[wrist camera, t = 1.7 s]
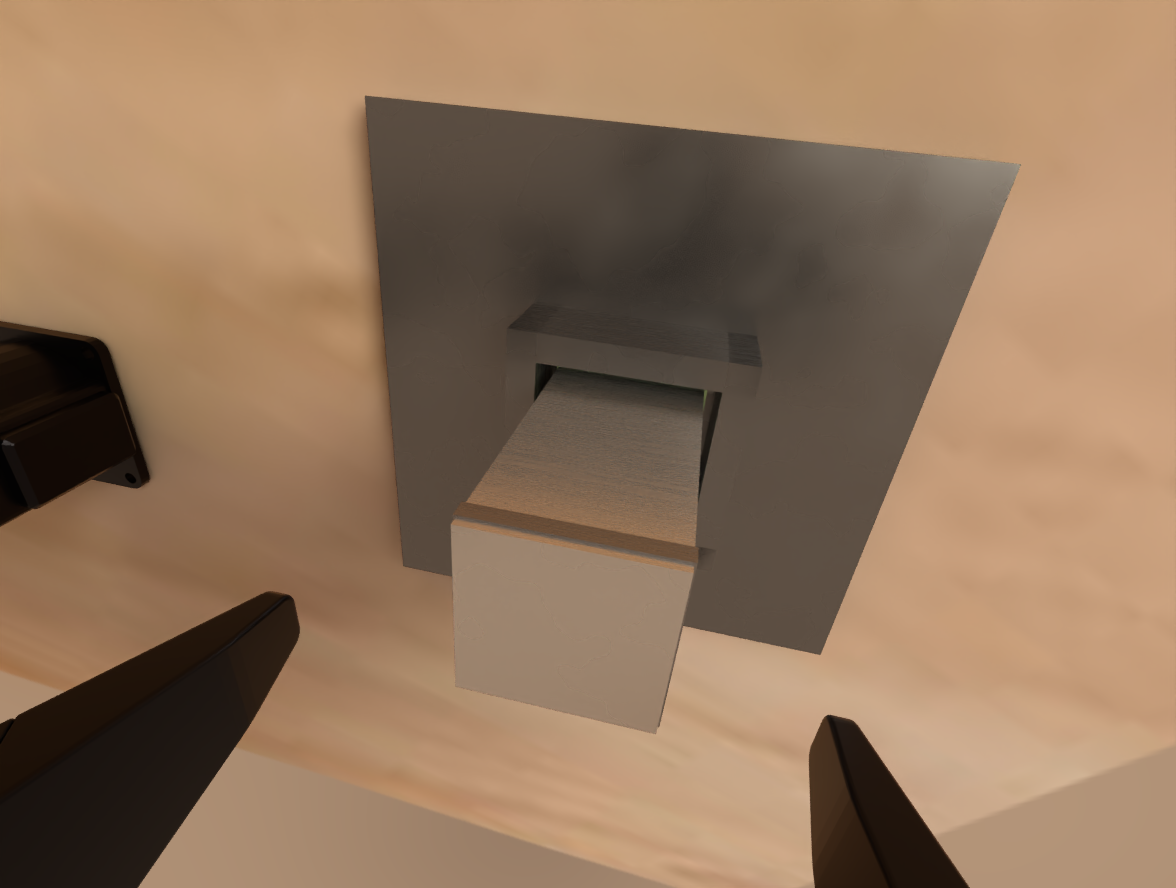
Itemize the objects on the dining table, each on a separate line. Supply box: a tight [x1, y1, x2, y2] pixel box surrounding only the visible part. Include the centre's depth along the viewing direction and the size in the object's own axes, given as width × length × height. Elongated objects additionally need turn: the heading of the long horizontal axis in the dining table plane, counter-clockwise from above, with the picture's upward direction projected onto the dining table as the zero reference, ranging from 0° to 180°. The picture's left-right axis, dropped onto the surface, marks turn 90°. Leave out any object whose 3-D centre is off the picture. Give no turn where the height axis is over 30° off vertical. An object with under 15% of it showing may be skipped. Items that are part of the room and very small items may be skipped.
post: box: [451, 366, 707, 734], centre depth 14 cm, size 4×4×9 cm
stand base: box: [365, 96, 1021, 655], centre depth 17 cm, size 16×16×4 cm
